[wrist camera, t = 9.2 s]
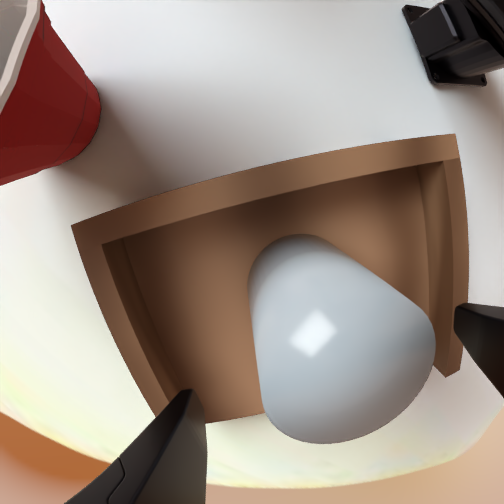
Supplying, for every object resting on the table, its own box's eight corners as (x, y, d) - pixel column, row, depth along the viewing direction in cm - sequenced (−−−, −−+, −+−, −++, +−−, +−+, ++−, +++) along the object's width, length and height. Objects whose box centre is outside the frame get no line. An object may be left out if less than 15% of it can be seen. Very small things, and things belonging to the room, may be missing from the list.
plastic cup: (180, 91, 15) (100, -33, 3) (74, 234, 17) (-70, 306, 5) (74, 20, 13) (-22, -61, 1) (-11, 144, 14) (-134, 147, 3)
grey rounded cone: (338, 222, 14) (437, 268, 7) (353, 314, 16) (428, 408, 8) (235, 249, 14) (237, 329, 7) (261, 341, 16) (282, 459, 8)
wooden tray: (400, 141, 16) (455, 133, 11) (419, 332, 20) (459, 370, 15) (115, 210, 16) (70, 225, 11) (188, 398, 20) (179, 453, 15)
